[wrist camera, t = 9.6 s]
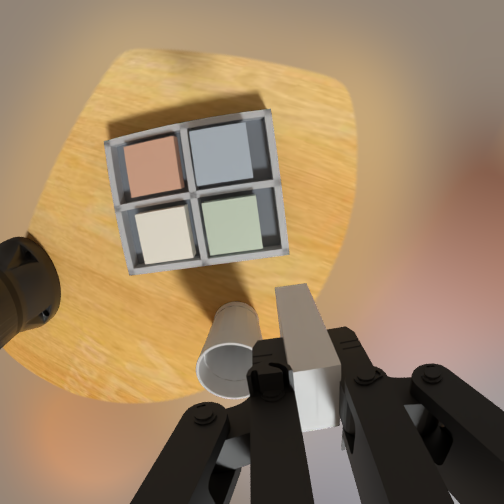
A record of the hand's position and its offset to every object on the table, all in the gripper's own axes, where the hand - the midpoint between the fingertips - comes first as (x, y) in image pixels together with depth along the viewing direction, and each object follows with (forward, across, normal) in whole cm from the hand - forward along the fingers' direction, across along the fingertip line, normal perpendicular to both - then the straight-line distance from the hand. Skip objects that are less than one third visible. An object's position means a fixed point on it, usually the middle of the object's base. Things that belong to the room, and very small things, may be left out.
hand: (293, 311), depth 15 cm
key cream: (+23, -12, 0) cm, 26 cm away
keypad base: (+26, -8, +4) cm, 28 cm away
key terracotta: (+23, -12, +8) cm, 27 cm away
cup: (+27, -6, -14) cm, 31 cm away
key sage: (+23, -4, +1) cm, 24 cm away
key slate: (+22, -4, +8) cm, 24 cm away
